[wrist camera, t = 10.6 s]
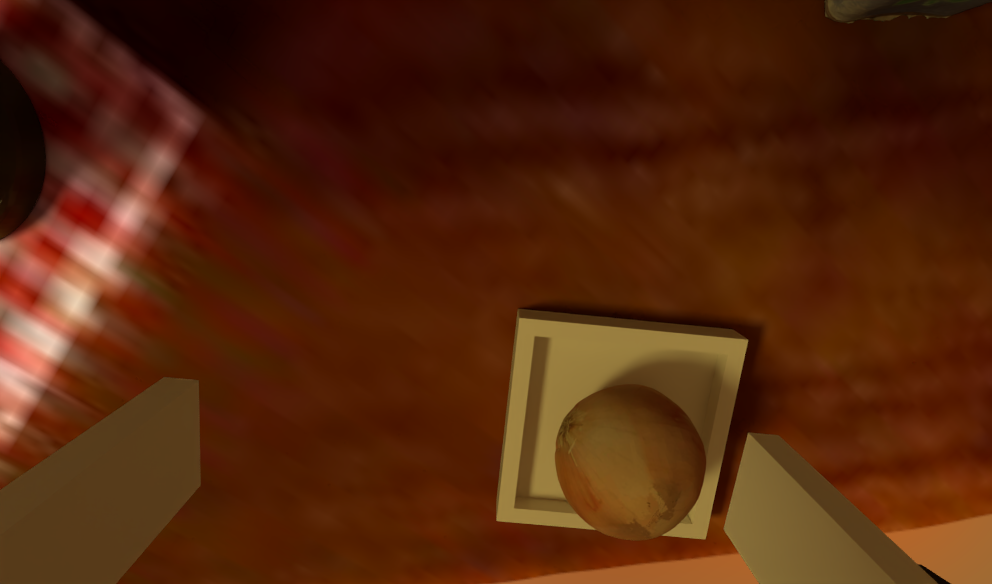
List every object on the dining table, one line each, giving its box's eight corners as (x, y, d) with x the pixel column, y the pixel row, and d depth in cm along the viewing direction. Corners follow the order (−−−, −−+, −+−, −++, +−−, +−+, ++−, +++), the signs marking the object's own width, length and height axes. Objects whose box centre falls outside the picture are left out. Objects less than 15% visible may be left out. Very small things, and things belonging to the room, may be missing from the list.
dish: (496, 500, 43) (496, 520, 40) (517, 308, 39) (519, 317, 37) (693, 518, 43) (705, 539, 40) (732, 329, 39) (748, 339, 37)
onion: (570, 346, 39) (595, 406, 29) (697, 385, 39) (764, 456, 29) (529, 461, 41) (539, 553, 31) (650, 496, 41) (697, 597, 32)
